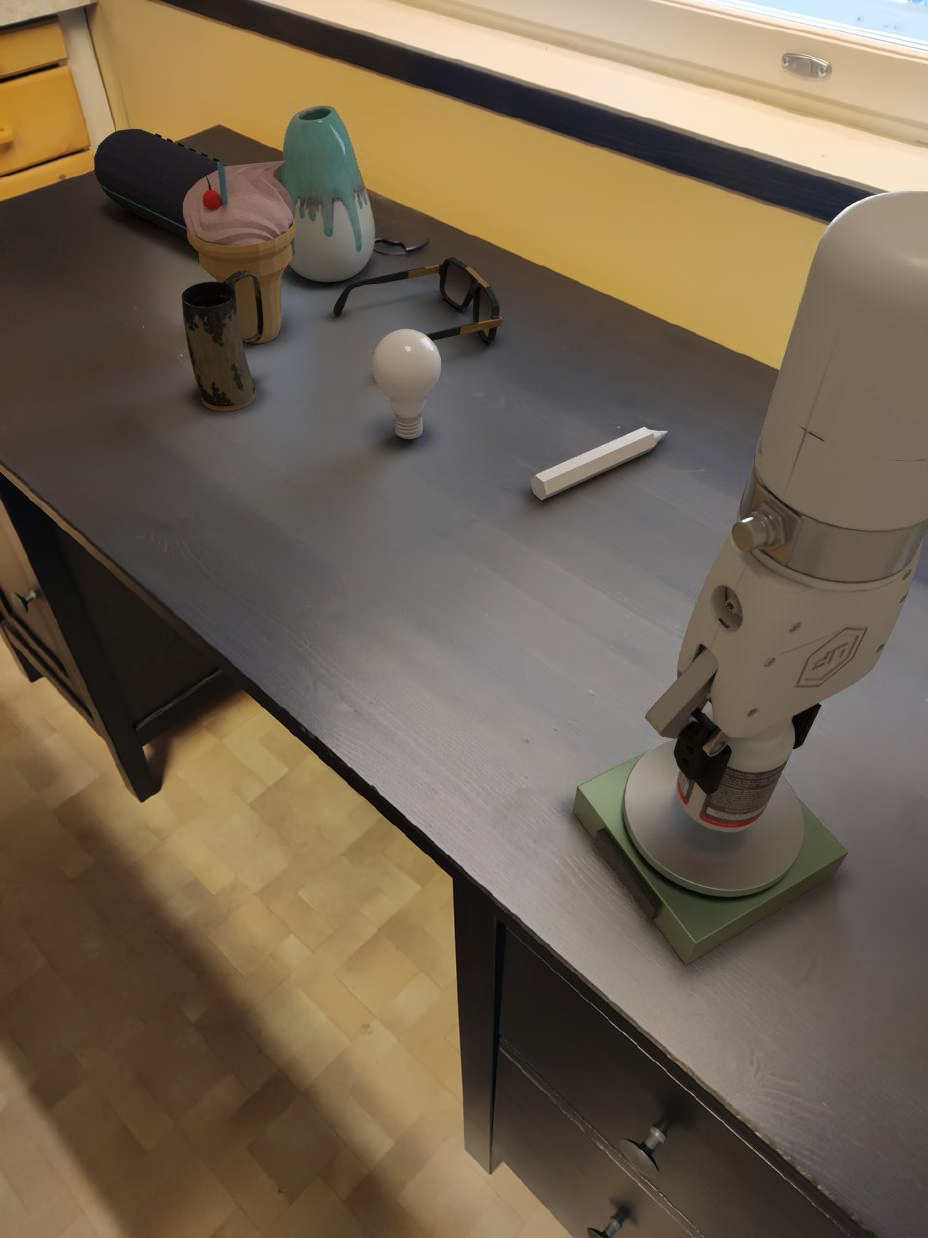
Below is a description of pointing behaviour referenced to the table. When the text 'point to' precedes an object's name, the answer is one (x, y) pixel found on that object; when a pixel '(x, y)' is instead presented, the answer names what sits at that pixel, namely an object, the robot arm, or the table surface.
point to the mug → (220, 342)
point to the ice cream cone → (244, 236)
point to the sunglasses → (449, 296)
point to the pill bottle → (740, 779)
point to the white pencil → (594, 462)
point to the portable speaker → (150, 175)
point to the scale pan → (708, 833)
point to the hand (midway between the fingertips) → (737, 749)
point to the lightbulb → (406, 376)
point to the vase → (326, 198)
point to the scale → (679, 910)
